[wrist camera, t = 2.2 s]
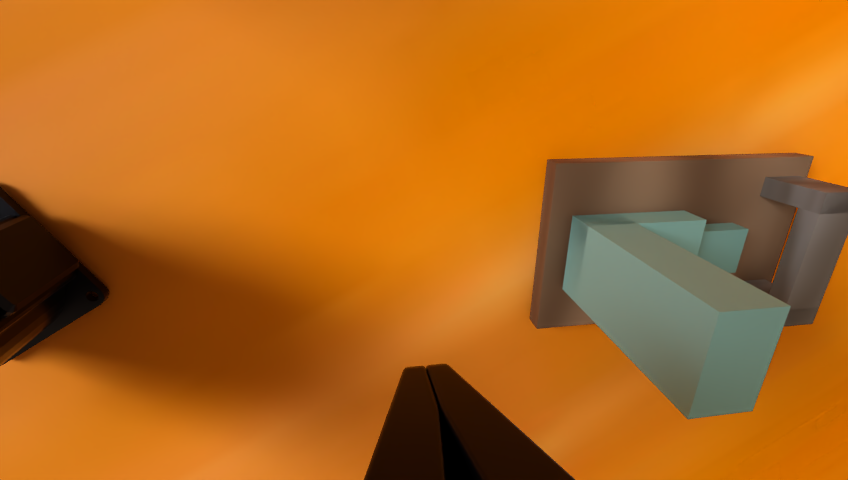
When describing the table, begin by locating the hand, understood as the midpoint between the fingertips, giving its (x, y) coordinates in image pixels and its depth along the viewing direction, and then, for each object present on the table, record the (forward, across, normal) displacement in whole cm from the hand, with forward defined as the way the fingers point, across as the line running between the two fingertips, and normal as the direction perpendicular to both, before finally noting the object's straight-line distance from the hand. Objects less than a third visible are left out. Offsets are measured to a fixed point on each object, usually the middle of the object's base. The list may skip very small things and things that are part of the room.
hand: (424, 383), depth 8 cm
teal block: (+12, -14, +3) cm, 18 cm away
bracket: (+13, -15, +3) cm, 20 cm away
